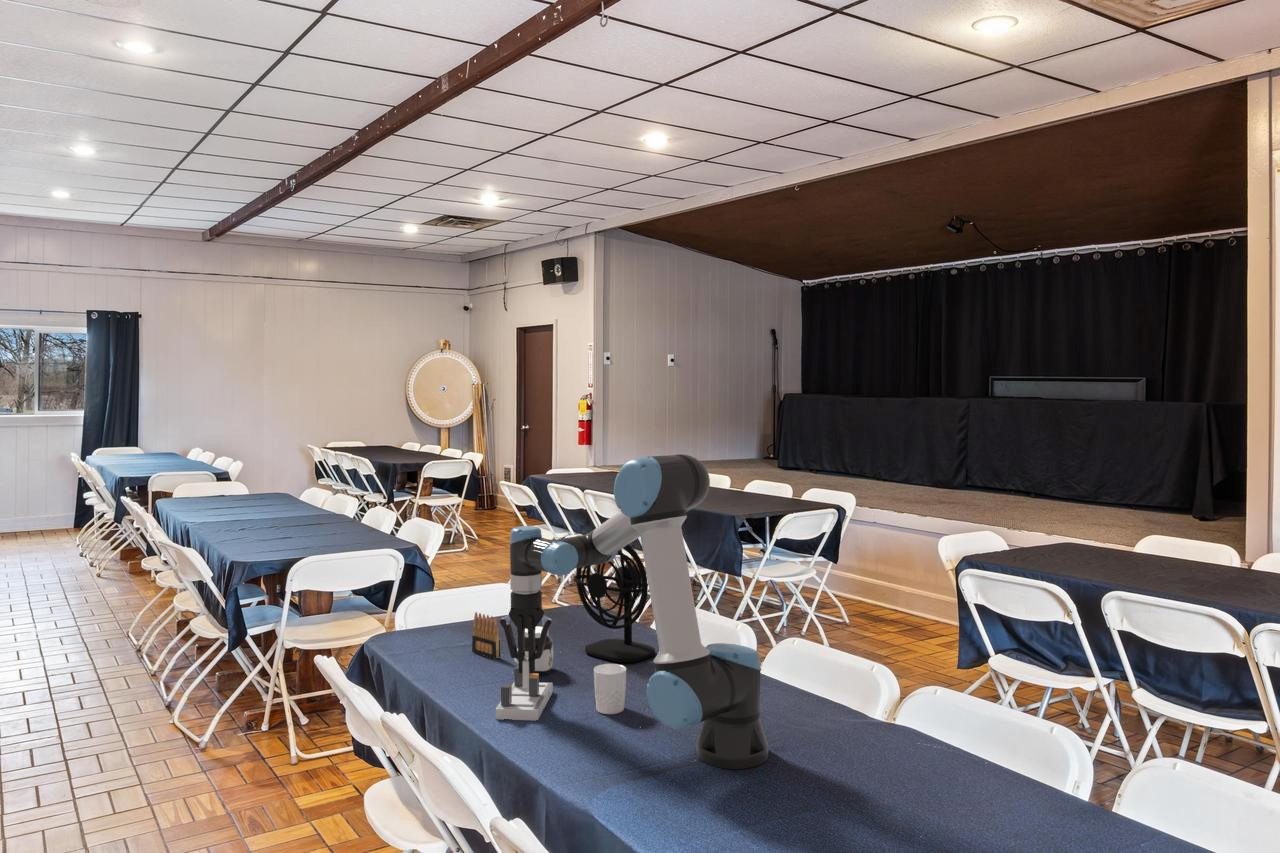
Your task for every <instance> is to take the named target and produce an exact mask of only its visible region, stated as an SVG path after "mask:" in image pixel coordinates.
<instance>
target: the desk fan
mask: <svg viewBox="0 0 1280 853" xmlns="http://www.w3.org/2000/svg"><path fill="white" fill-rule="evenodd" d="M623 550H624V551H626V552H627V553H628V554H629V555H630V556H631V557H630V556H628V555H627V554H625V553H623ZM616 556H619V558H620V565H621V566H619V567H616V565H615V564H614V563H613V562H612V561H609V562H606V563H604V564H596V565H597V566H596V572H594V573H592V574H591V568H592V565H591V566H585V567H584V568H583V567H580V568H575V570H576V571H575V575H574V576H573V582H574V583H576V588H577V592H578V596H579V599H580V601H581V604H582V605H583V607H584V608H585V610H586V612H587V613H588V615H589V616H590V617H591V619H593V621H595V622H597V624H599V625H601V626H602V627H604V628H605V627H606V628H608V629H611V630H613V629H614V630H620V629H623V632H624V633H623V636H624V637H623V639H622V638H607V639H606V638H605V639H601V640H598V641H595V642H593V643H590V644H587V645H585V646H584V653H586V654H588V655H590V656H593V657H597V658H601V659H605V660H608V661H612V662H618V663H634V662H639V661H642V660H645V659H648V658H651V657H653V656H654V655H655V654H656V649H655V648H654V647H653V646H652V645H648V644H644V643H641V642H637V641H632V640H633V624H635V622H636V621H637V620H638V619H639V618H640V616H642V613H643V612H644V609H645V607H646V603H647V600H648V593H649V592H648V590H649V585H648V579H647V573H646V568H645V566H644V564H643V562H642V559H641V557H640V555H639V554H638V552H637V551H636V550H635V549H634V548H633V547H632V545H631V544H628V545H626V546H625V547H623V548H622V549H620V550H619V551H618V553H617V554H616ZM632 558H633V559H632ZM607 563H608V564H609V565H610V566H611V567H612V569H613V570H614V572H615V573H614V576H609V575H604V569H605V566H606V564H607ZM625 564H626V565H625ZM585 579H586V582H585ZM607 580H609V581H615V585H616V586H617V587H611V586H608V583H607ZM585 587H587V590H588V593H589V595H588V594H587V590H586V588H585ZM609 592H617V593H619V594H618V598H617V600H614V598H612V597H611V596H610V595H609ZM639 595H640V596H639ZM588 596H590V598H591V600H592V601H591V600H590V598H589V597H588ZM605 596H606V597H607V599H608V600H609V601H610V602H612V603H613V604H614V605H613V606H612V607H610V608H607V609H605V608H603V607H602V604H601V598H603V597H605ZM638 597H640V599H639V601H638V603H637V605H636V607H635V609H634V610H633V608H634V606H635V603H636V600H638ZM617 606H618V611H617V613H616V615H614V614H611V613H609V612H610V611H612V610H614V609H615V608H616V607H617ZM592 607H593V608H592ZM594 609H595V610H597V611H598V613H597V612H595V611H594ZM622 611H623V615H621V614H622ZM604 615H605V617H608V618H605V617H604ZM609 618H610V619H609ZM621 620H623V624H620V625H619V624H618V623H619V621H621ZM617 624H618V625H617Z"/></svg>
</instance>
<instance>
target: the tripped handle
mask: <svg viewBox="0 0 1280 853" xmlns="http://www.w3.org/2000/svg"><path fill="white" fill-rule="evenodd" d="M539 683H540V676H539V674H538V673H533V674H530V676H529V696H538V694H539Z"/></svg>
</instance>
